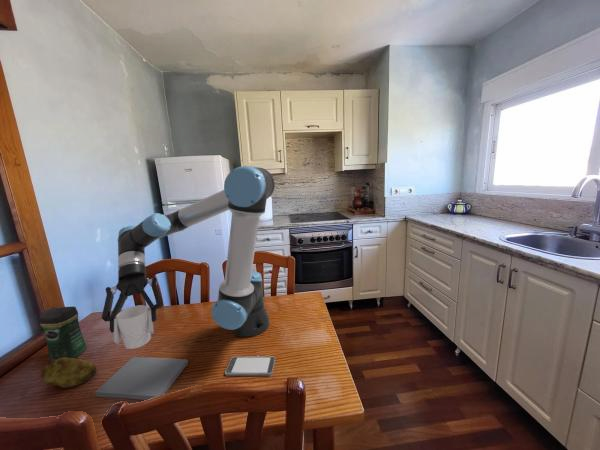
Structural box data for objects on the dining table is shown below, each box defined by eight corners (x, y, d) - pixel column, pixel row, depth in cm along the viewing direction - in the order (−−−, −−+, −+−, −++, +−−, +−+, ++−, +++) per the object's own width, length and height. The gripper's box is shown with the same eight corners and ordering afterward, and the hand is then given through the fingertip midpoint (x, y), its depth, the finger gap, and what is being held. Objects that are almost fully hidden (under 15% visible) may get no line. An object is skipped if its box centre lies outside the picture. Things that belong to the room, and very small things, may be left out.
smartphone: (231, 356, 82) (275, 356, 81) (232, 359, 82) (275, 359, 82) (224, 373, 75) (271, 373, 74) (224, 376, 75) (272, 376, 74)
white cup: (132, 334, 77) (126, 306, 75) (158, 332, 77) (153, 304, 75) (116, 352, 69) (109, 320, 67) (144, 349, 70) (138, 318, 68)
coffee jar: (91, 347, 92) (81, 302, 88) (71, 362, 84) (59, 314, 80) (67, 347, 92) (55, 303, 88) (45, 363, 84) (31, 315, 81)
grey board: (187, 363, 81) (187, 359, 81) (159, 401, 67) (158, 396, 67) (134, 360, 84) (133, 356, 83) (96, 396, 70) (95, 391, 70)
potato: (75, 395, 70) (68, 372, 69) (38, 392, 72) (31, 369, 71) (101, 373, 79) (96, 351, 77) (68, 370, 80) (62, 349, 79)
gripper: (168, 266, 88) (175, 329, 77) (97, 279, 79) (94, 353, 68) (165, 256, 82) (173, 322, 71) (89, 269, 73) (84, 347, 62)
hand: (134, 337), depth 70 cm, fingers closed on white cup, 8 cm apart
